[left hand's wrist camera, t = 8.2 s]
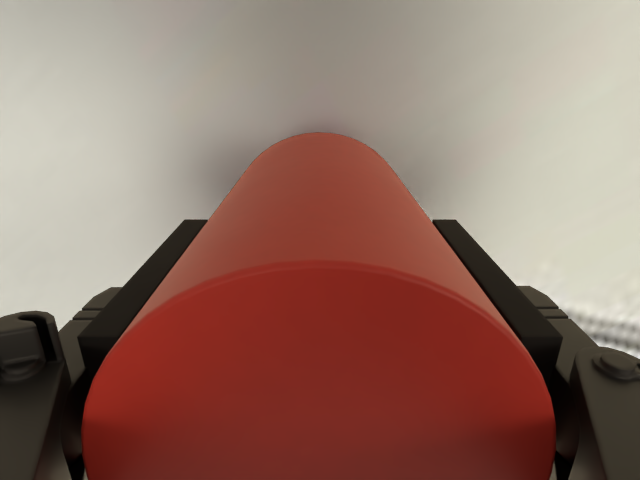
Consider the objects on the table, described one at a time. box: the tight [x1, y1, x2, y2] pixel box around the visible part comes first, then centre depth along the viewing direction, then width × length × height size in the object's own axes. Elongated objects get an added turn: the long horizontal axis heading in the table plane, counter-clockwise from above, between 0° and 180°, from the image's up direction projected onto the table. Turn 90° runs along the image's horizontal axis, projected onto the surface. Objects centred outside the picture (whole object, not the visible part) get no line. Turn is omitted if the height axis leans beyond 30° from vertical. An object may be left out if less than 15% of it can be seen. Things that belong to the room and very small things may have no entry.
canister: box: [81, 132, 556, 480], centre depth 12 cm, size 7×7×12 cm
